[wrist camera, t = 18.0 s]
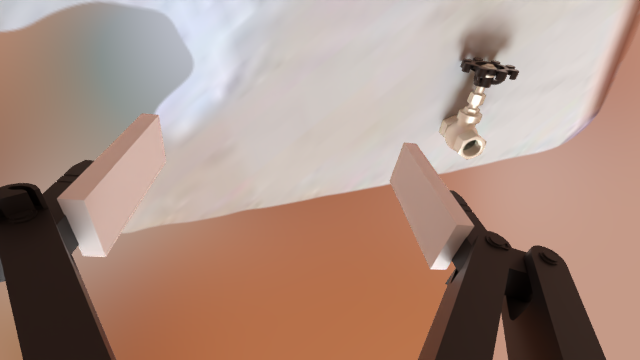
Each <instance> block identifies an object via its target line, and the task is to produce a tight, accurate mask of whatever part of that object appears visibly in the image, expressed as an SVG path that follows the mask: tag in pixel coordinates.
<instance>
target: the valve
mask: <svg viewBox="0 0 640 360" xmlns="http://www.w3.org/2000/svg"><path fill="white" fill-rule="evenodd" d="M460 67H462V71H463V72H467V73H469V71H470V69H471V70H473V71H475V76H474V85H476V86H477V87H476V90H475V91H472V92H470V95H469V98H468V100H467V102H468V103H469V105H468V106H465V108H462V109H460V110H459V112H458V115H457V116H456V115H454V116H452V117H450V118H447V119H445V120H443V122H442V124H441V127H440V130H439V133H440V134H441V135H442V136H443V137H444V138H445V141H446V143H447V145H448V146H449V147H450V148H451V149H453V150H455V151H456V152H457V153H458V154H460V155H461V156H462V157H464V158H465V159H471V158H474V157H476V156H478V155H480V154H481V153H482V151H483V150H484V148H485V145H486V141H485V140H484V139H483V138H482V137H481V136H479V135H478V132H477V130H476V128H475V125H476V124H477V123H479V122H480V120H481V118H482V114H481V113H480V112H479V111H480V109H479V108H478V106H479V105H482V104H483V102H484V99H485V97H486V95H485V94H484V93H483V92H484V89H485V88H489V87H490V86H491V84H492V85H497V84H500V83H502V82H503V81H505V79H506V76H507V74H508V75H511V76H510V78H509V79H511V80H515V79H516V77H517V75H518V73H519V71H518V70H516V69H515V66H512V65H505V66H504V65H500V62H499V61H494V60H492V61H491V62H487V61H483V59H480V58H474V60H473V61H472V60H471V59H463V60H462V63H461V66H460ZM494 76H496V78H495V79H496V80H494Z"/></svg>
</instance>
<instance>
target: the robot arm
mask: <svg viewBox="0 0 640 360" xmlns="http://www.w3.org/2000/svg"><path fill="white" fill-rule="evenodd" d="M165 163H166V157H165V151H164V145H163V138H162V132H161V126H160V120H159V115H153V114H141V115H140V116H139V117H138V118H137V119H136V120H135V121H134V122H133V123H132V124H131V125H130V126H129V127H128V128H127V129H126V130H125V131H124V132H123V133H122V134H121V135H120V136H119V137H118V138H117V139H116V140H115V141H114V142H113V143H112V144H111V145H110V146H109V147H108V148H107V149H106V150H105V151H104V152H103V153H102V154H101V155H100V156H99V157H98V158H97V159H96V160H95V161H91V160H85V161H82V162H80V163H78V164H76V165H74V166H73V167H71V168H70V169H69V170H68V171H67V172H66V173H65V174H64V176H62V177H60V178H59V179H58V180H57V182H55V183H54V184H53V185H52V186H51V187H50V188H49V189H48V190H46V191H45V192H44V193H43V194H42V193H41V191H40V189H39V188H38V187H37V186H36V185H33V184H29V183H18V184H11V185H6V186H3V187H0V282H3V281H6V285H7V290H8V294H9V299H10V303H11V307H12V312H13V316H14V321H15V325H16V330H17V334H18V339H19V343H20V348H21V352H22V356H23V360H116V358H115V356H114V353H113V351H112V349H111V346H110V344H109V342H108V339H107V337H106V335H105V332H104V330H103V327H102V325H101V323H100V320H99V318H98V316H97V313H96V311H95V309H94V306H93V304H92V301H91V299H90V297H89V294H88V292H87V289H86V287H85V285H84V282H83V280H82V278H81V275H80V273H79V271H78V268H77V266H76V263H75V261H74V259H73V257H72V255H71V254H72V253H73V251H74V250H75V249H76V247H77V246H79V248H80V251H81V252H82V255H83V256H97V257H106V256H107V254H108V253H109V251H110V249H111V248H112V246H113V245H114V243H115V242H116V240H117V238H118V237H119V235H120V234H121V232H122V231H123V229H124V227H125V226H126V224H127V223H128V221H129V219H130V218H131V216H132V215H133V213H134V212H135V210H136V208H137V207H138V205H139V204H140V202H141V200H142V199H143V197H144V196H145V194H146V193H147V191H148V189H149V188H150V186H151V185H152V183H153V181H154V180H155V178H156V177H157V175H158V174H159V172H160V170H161V169H162V167H163V166H164V164H165ZM390 183H391V185H392V187H393V189H394V191H395V194H396V196H397V198H398V200H399V202H400V205H401V207H402V209H403V211H404V213H405V215H406V218H407V220H408V222H409V224H410V226H411V228H412V231H413V233H414V235H415V237H416V239H417V241H418V244H419V246H420V248H421V250H422V252H423V254H424V257H425V259H426V261H427V263H428V265H429V267H430V269H439V270H446V269H447V267H448V266H449V264H450V263H451V261H452V262H453V263H454V265H455V267H456V269H455V270H454V272H453V273H452V275H451V276H450V278H449V279H448V280H447V282H446V284H447V285H448V286H447V288H446V291H445V293H444V296H443V298H442V301H441V303H440V306H439V308H438V311H437V313H436V316H435V318H434V321H433V323H432V326H431V328H430V331H429V333H428V336H427V338H426V341H425V343H424V346H423V348H422V351H421V353H420V356H419V358H418V360H492V359H493V354H494V348H495V343H496V337H497V331H498V326H499V320H500V315H501V313H502V320H503V327H504V334H505V340H506V347H507V354H508V360H606V358H605V356H604V353H603V351H602V348H601V346H600V344H599V341H598V339H597V337H596V335H595V332H594V329H593V327H592V325H591V322H590V320H589V317H588V315H587V313H586V310H585V308H584V305H583V303H582V301H581V299H580V296H579V293H578V291H577V289H576V286H575V284H574V282H573V279H572V277H571V274H570V272H569V269H568V267H567V265H566V263H565V262H564V260H563V259H562V258H561V257H560V256H559V255H558V254H557V253H555V252H554V251H552V250H550V249H548V248H546V247H542V246H533V247H532V248H531V249H530V250H529V251H528V252H523V251H520V250H517V249H513V248H512V247H511V246H510V244H509V243H508V242H507V241H506V240H505V239H504V238H503V237H501V236H500V235H498V234H496V233H494V232H491V231H487V230H486V229H485V227H484V226H483V225H482V224H481V222H480V221H479V219H478V218H477V217H476V215H475V214H474V213H473V212H472V210H471V209H470V207H469V206H468V205H467V203H466V202H465V201H464V199H463V198H462V197H461V196H460V195H458V194H457V193H456V192H455V191H451V190H449V189H448V188H447V186H446V185H445V184H444V182H443V181H442V179H441V178H440V177H439V175H438V174H437V172H436V171H435V169H434V168H433V167H432V165H431V164H430V162H429V161H428V160H427V158H426V157H425V155H424V154H423V153H422V151H421V150H420V148H419V147H418V145H417V144H413V143H404V144H403V146H402V149H401V152H400V155H399V157H398V160H397V163H396V165H395V168H394V171H393V173H392V176H391V179H390Z"/></svg>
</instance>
